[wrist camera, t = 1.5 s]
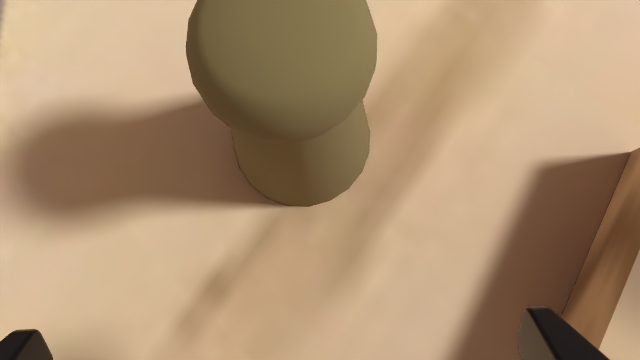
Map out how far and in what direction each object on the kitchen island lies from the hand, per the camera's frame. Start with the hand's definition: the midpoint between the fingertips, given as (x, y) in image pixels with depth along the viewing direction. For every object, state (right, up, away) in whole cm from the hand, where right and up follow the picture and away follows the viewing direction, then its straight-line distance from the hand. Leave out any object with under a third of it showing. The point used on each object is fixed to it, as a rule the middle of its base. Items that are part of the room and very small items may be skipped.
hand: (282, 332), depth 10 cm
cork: (0, +5, +14) cm, 15 cm away
